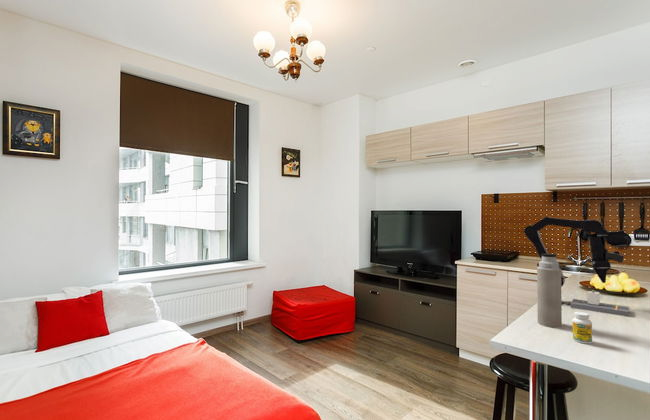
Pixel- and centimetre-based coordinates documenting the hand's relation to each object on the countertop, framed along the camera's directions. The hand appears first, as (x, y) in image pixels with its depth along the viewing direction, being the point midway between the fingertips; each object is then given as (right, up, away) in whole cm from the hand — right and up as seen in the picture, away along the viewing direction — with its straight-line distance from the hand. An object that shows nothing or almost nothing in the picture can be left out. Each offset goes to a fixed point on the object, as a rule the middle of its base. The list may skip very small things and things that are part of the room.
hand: (603, 281), depth 153 cm
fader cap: (-4, -10, +1) cm, 11 cm away
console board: (-2, -13, -1) cm, 13 cm away
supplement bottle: (-38, -13, -37) cm, 55 cm away
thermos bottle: (-38, -13, -20) cm, 45 cm away
